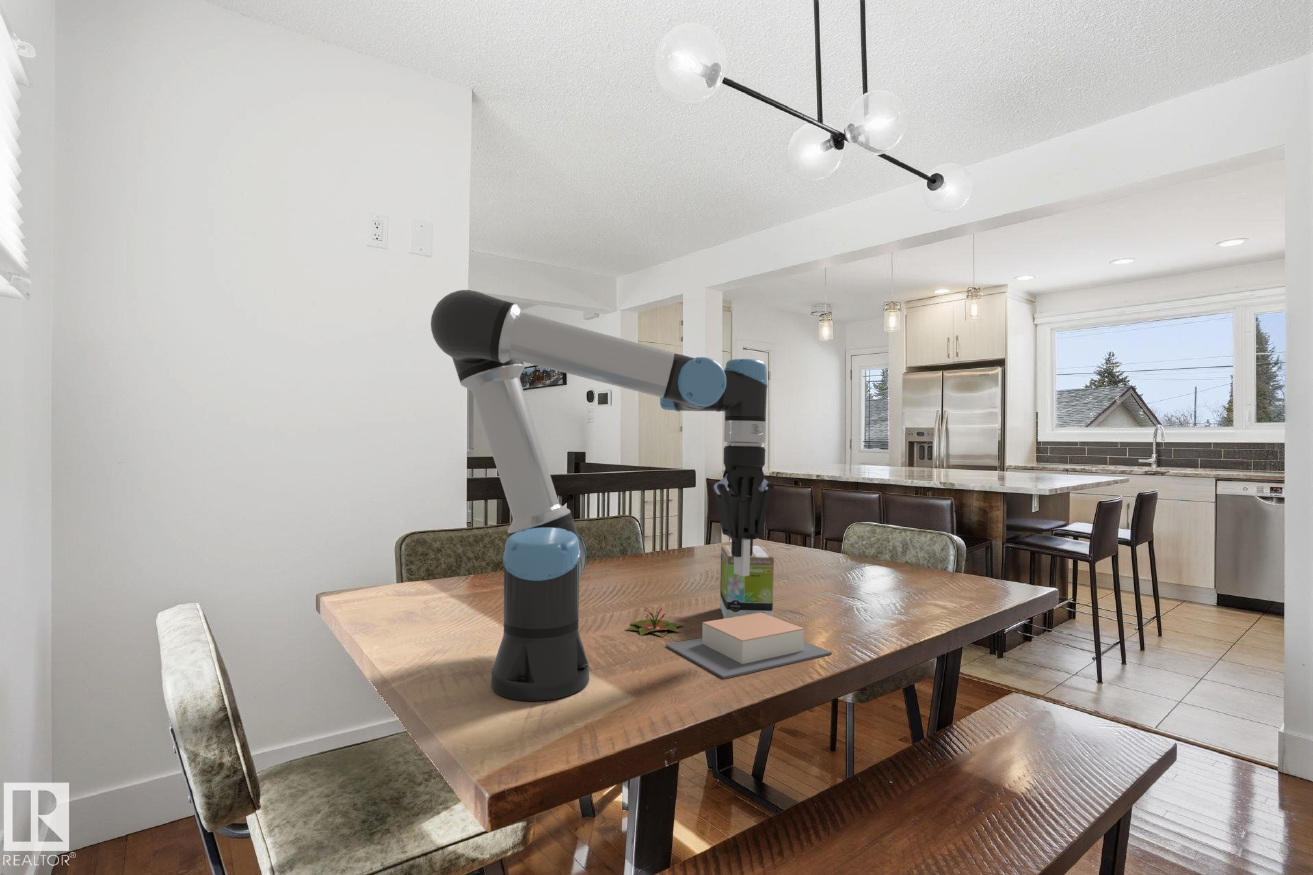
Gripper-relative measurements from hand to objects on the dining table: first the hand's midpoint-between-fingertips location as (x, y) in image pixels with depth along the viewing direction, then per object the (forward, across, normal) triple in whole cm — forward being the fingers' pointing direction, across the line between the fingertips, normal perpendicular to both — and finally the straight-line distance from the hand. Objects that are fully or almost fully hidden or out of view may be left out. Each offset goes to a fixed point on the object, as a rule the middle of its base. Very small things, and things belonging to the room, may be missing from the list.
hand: (741, 574), depth 113 cm
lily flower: (+15, -7, +20) cm, 25 cm away
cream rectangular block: (+12, -4, 0) cm, 12 cm away
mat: (+14, +2, 0) cm, 14 cm away
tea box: (+14, +15, +17) cm, 26 cm away
